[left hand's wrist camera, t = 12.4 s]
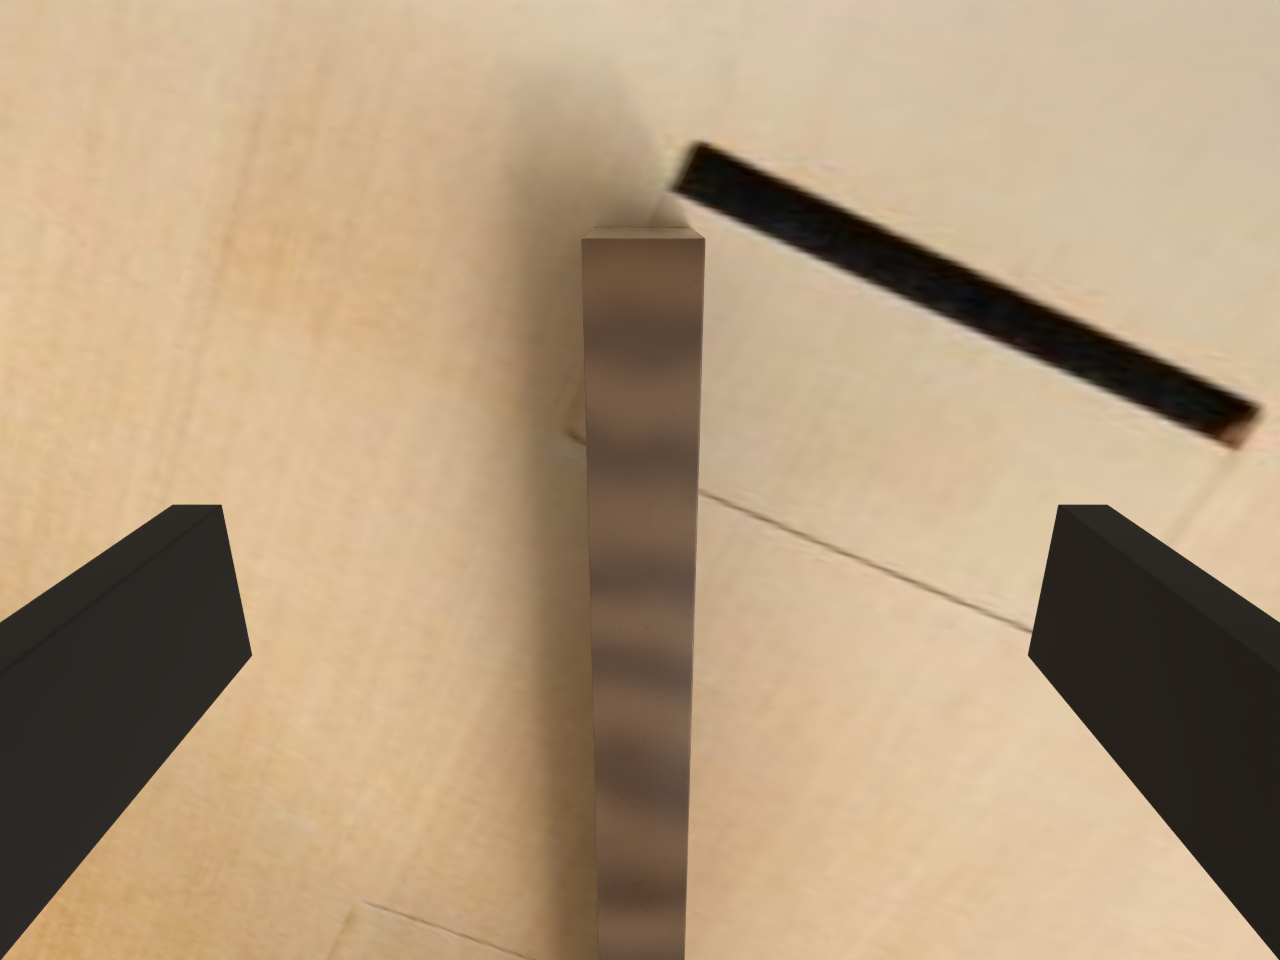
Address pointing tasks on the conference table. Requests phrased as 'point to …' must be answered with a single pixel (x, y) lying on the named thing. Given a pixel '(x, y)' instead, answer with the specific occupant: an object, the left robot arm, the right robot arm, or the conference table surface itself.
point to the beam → (642, 571)
